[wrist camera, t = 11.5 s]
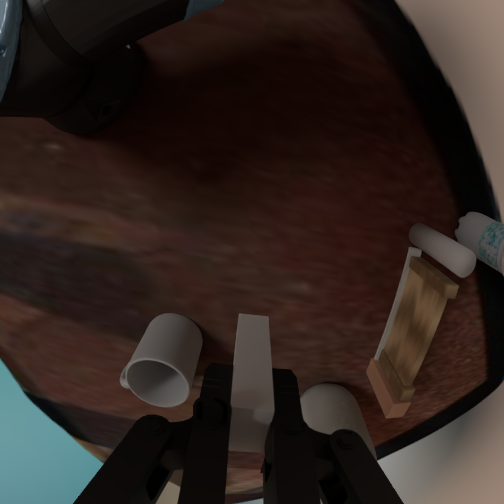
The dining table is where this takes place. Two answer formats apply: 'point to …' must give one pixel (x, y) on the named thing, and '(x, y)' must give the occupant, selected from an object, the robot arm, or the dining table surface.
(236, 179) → the dining table surface
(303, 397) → the white tapered flask
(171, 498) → the bowl
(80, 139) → the dining table surface
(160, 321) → the mug
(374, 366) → the fence
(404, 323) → the gate
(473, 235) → the bottle
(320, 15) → the dining table surface
